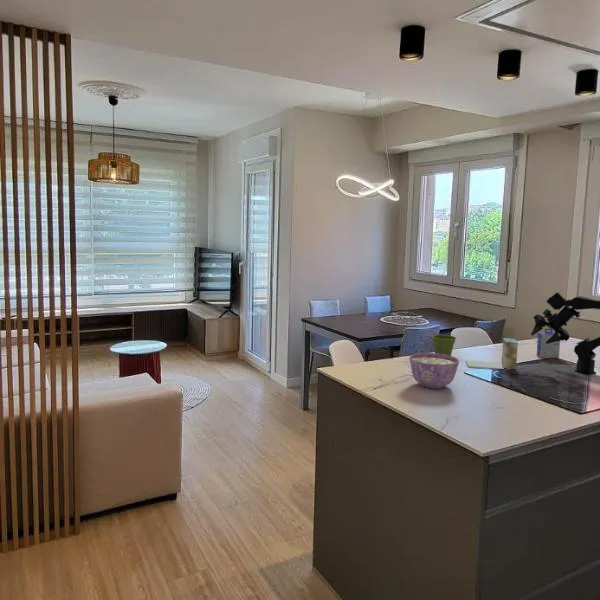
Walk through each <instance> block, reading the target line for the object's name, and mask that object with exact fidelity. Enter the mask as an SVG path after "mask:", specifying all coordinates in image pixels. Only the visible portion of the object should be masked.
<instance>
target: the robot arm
mask: <svg viewBox="0 0 600 600" xmlns="http://www.w3.org/2000/svg"><path fill="white" fill-rule="evenodd" d="M545 302H546V303H547V304H548V305H549V306H550V307H551V308H552V309H553V310H554V311H557V310H558V313H557V312H555V313H551V312H552V311H551V310H550V309H547V308H546V309H544V311H543V312H542V315H543V316H542V315H540V314H539V313H537V314H534V316H533V320H534V322H535V323H534V327H533V329H532V331H531V333H530V335H531V336H535V335H536V334H538V333H540V331H542V330H543V329H544V328H545V327H547V329H552V331H553V333H554V335H553V336H552V337H551V338H549V339H548V340H547V341H546V344H549V343H552V342H556V341H560V342H561V341H565V342H566V341H568V340H570V337H571V336H570V334H569V331H567V330H566V329H565V328H563V327H564V326H565V327H566V326H567V325H568V322H569V321H570V320H571V319H572V318H573V317H576V318H580V317H581V311H579V310H590V309H591V310H592V309H594V310H596V309H597V310H600V299H593V298H590V297H586V296H583V295H581V296H575V297H573V298H572V299H566V298H564V297H563V296H562V295H561V293H560V292H555V293H554V294H553V295H552V296H550V297H548V299H547V300H546V301H545ZM599 347H600V336H598V337H596V338H594V339H590V338H589V337H587V338H585V339H584V340H580V341H578V342H577V343H576V345H575V346H574V348H573V352H574V353H575V355H576V356H577V361H576V369H575V370H574V372H577V373H580V374H585V375H592V374H596V373H597V371H595V366H596V365H595V364H596V360H595V358H596V356H597V354H596V353H595V352H594V350H595V349H596V348H599Z"/></svg>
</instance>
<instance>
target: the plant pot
mask: <svg viewBox="0 0 600 600" xmlns="http://www.w3.org/2000/svg"><path fill="white" fill-rule="evenodd" d="M431 337H432V341H433V344H434V345H433V347H434V353H438V354H445V355H449V356H452V353H453V348H454V344H455V342H456V340H457V337H456V336H452V335H448V334H433V335H431Z"/></svg>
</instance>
